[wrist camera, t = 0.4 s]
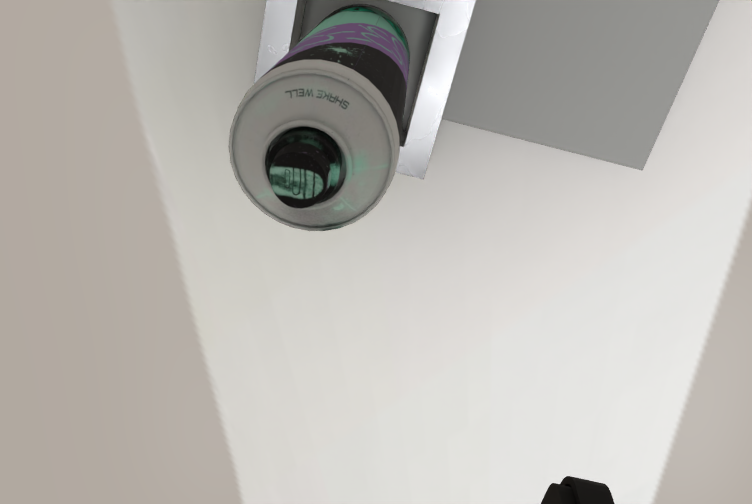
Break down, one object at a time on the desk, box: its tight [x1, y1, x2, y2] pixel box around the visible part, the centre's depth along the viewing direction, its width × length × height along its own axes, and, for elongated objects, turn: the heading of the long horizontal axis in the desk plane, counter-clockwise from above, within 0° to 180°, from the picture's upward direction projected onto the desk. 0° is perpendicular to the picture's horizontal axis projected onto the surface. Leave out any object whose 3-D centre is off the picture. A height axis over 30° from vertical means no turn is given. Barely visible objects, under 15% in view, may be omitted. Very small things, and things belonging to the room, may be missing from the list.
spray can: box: [229, 5, 410, 231], centre depth 27 cm, size 6×6×20 cm
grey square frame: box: [254, 0, 476, 179], centre depth 35 cm, size 10×10×3 cm
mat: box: [441, 0, 719, 170], centre depth 35 cm, size 12×12×1 cm
